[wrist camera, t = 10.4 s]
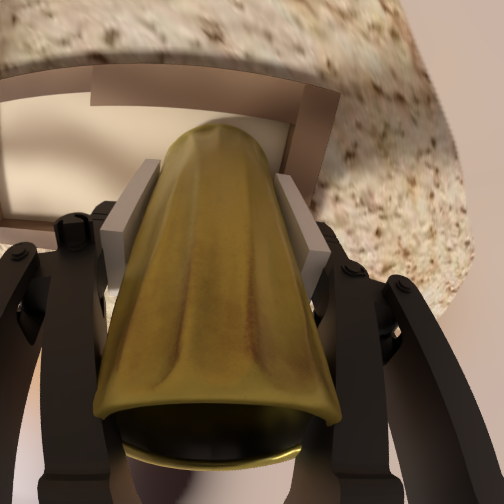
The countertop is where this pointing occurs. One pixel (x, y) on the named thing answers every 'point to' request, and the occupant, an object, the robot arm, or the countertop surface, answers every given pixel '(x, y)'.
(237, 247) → the vase
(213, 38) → the countertop surface
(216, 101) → the shallow serving tray
